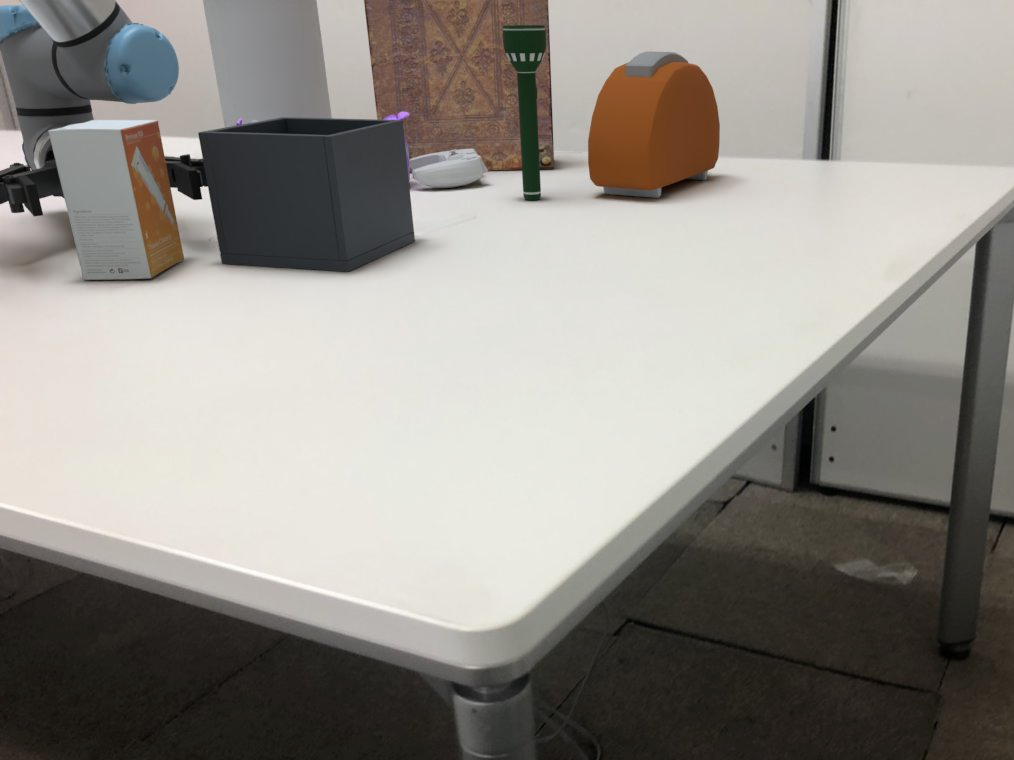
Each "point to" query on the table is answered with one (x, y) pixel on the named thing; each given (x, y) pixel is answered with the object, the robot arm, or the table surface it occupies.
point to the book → (457, 76)
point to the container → (268, 59)
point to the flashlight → (527, 96)
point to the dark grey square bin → (309, 191)
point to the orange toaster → (653, 126)
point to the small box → (118, 198)
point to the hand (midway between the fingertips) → (118, 192)
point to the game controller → (448, 168)
